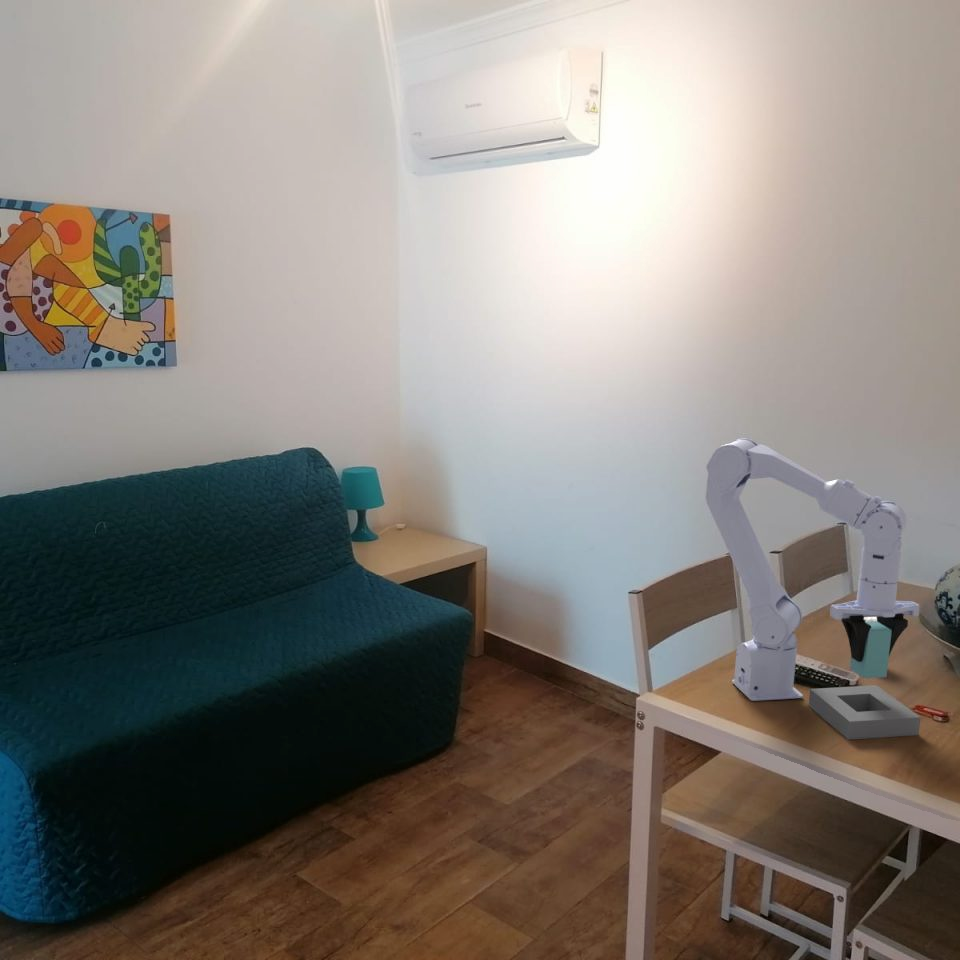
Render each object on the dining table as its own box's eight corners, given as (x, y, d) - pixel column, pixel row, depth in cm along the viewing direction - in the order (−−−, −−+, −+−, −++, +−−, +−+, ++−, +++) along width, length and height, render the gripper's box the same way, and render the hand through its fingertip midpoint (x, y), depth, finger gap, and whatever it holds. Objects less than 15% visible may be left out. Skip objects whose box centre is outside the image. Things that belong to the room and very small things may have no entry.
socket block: (847, 739, 143) (849, 721, 143) (808, 705, 155) (810, 688, 154) (918, 734, 145) (920, 717, 145) (874, 701, 157) (876, 685, 156)
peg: (863, 678, 149) (868, 631, 148) (849, 668, 153) (854, 622, 151) (886, 677, 150) (891, 630, 148) (872, 667, 154) (877, 621, 152)
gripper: (851, 588, 143) (842, 670, 146) (935, 584, 146) (925, 666, 148) (826, 574, 150) (818, 653, 153) (907, 571, 152) (898, 649, 155)
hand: (869, 658), depth 151 cm, fingers closed on peg, 4 cm apart
